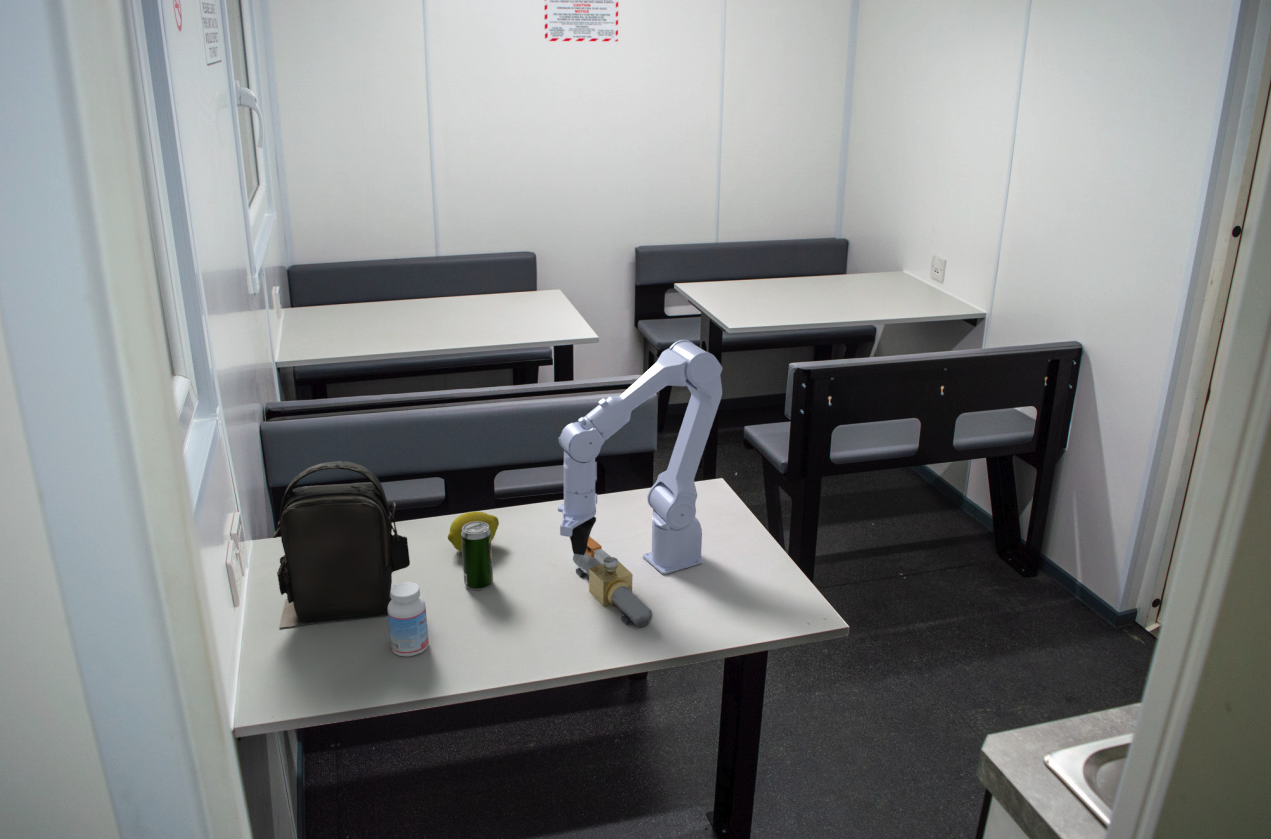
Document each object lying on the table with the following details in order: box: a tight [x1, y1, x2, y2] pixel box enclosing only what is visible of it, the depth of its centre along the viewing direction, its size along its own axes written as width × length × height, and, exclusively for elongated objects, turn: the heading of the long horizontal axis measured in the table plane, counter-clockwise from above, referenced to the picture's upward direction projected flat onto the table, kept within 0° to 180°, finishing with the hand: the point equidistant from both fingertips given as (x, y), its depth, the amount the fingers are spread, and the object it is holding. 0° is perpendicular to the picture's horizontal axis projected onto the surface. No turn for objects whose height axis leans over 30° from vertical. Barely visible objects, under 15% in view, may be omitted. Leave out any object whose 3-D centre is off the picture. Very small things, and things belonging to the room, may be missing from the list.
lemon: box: [447, 511, 500, 553], centre depth 179 cm, size 11×8×8 cm
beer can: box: [461, 521, 494, 592], centre depth 166 cm, size 5×5×12 cm
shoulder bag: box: [272, 460, 411, 629], centre depth 155 cm, size 23×9×28 cm, turn 103°
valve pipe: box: [572, 553, 654, 628], centre depth 164 cm, size 6×24×5 cm, turn 30°
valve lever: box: [586, 536, 619, 573], centre depth 166 cm, size 11×3×2 cm, turn 34°
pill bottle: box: [387, 581, 430, 657], centre depth 147 cm, size 6×6×11 cm
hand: (579, 553), depth 168 cm, fingers closed, pressing on valve lever
